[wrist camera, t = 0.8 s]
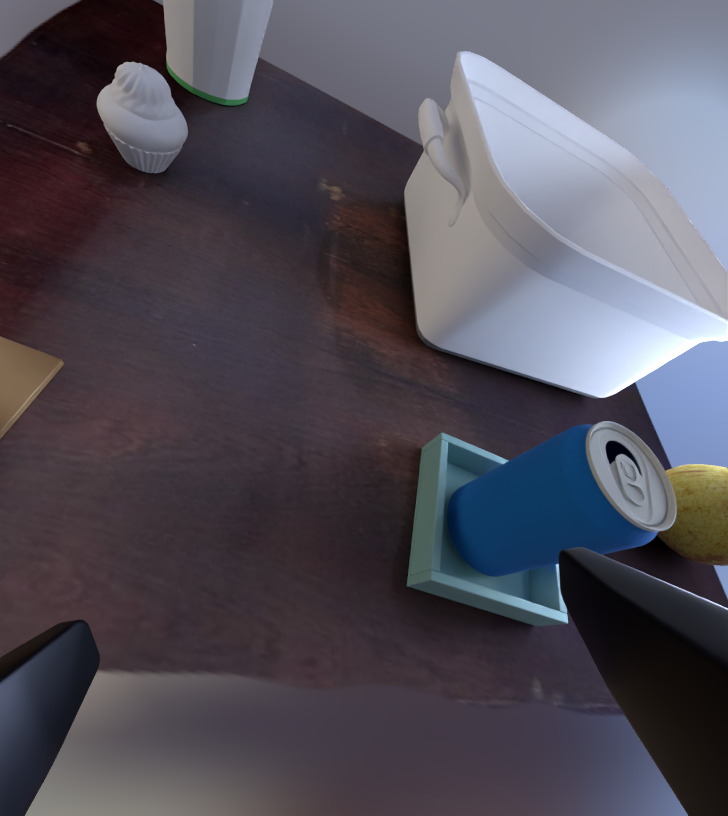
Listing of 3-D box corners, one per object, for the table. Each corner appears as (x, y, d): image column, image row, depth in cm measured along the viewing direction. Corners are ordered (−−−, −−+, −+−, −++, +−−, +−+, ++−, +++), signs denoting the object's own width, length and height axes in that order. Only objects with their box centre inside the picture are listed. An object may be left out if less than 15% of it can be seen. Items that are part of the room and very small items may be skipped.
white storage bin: (566, 265, 59) (664, 173, 48) (635, 433, 44) (802, 358, 33) (359, 170, 47) (424, 16, 36) (358, 356, 32) (468, 196, 21)
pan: (535, 626, 27) (568, 623, 25) (406, 586, 25) (430, 580, 22) (526, 490, 33) (552, 479, 31) (421, 447, 31) (442, 431, 28)
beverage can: (508, 497, 31) (657, 433, 22) (519, 585, 28) (702, 552, 18) (438, 478, 29) (569, 398, 20) (441, 569, 26) (601, 524, 16)
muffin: (127, 127, 34) (121, 28, 29) (197, 164, 36) (204, 77, 30) (84, 157, 31) (69, 50, 25) (164, 197, 32) (166, 104, 27)
